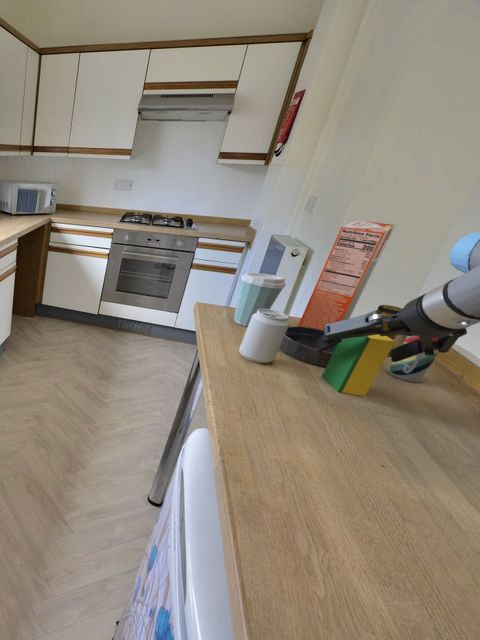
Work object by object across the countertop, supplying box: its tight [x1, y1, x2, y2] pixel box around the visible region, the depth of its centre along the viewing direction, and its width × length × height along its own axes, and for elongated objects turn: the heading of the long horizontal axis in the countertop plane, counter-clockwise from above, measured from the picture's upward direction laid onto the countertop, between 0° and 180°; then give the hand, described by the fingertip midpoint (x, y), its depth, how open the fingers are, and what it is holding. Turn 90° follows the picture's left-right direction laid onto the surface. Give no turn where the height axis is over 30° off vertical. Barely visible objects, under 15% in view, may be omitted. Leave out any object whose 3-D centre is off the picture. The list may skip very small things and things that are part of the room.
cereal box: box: [297, 219, 397, 330], centre depth 113 cm, size 23×8×30 cm, turn 131°
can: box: [238, 308, 290, 364], centre depth 98 cm, size 8×8×12 cm
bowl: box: [279, 325, 338, 368], centre depth 104 cm, size 17×17×4 cm
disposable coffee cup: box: [233, 272, 287, 328], centre depth 119 cm, size 11×11×15 cm
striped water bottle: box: [387, 336, 440, 383], centre depth 92 cm, size 6×6×20 cm
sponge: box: [321, 335, 396, 397], centre depth 88 cm, size 5×7×13 cm
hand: (355, 350), depth 88 cm, fingers open, 13 cm apart
